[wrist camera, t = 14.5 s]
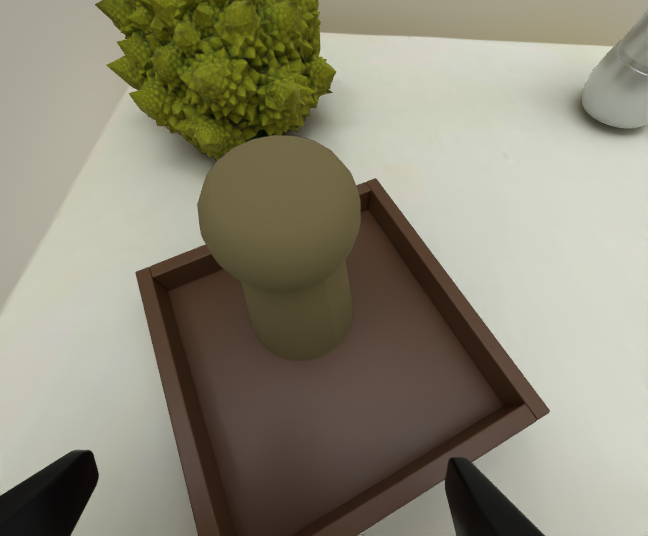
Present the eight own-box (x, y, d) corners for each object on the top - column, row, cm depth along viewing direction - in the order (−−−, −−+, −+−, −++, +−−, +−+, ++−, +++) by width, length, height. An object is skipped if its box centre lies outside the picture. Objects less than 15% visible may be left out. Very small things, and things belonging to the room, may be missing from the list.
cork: (237, 285, 19) (146, 138, 10) (327, 250, 20) (327, 86, 11) (271, 379, 17) (192, 310, 7) (371, 334, 18) (424, 219, 8)
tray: (237, 590, 14) (218, 624, 11) (156, 290, 20) (134, 271, 18) (520, 414, 17) (551, 411, 14) (371, 202, 23) (376, 177, 21)
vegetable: (125, 19, 27) (123, -252, 15) (288, 103, 35) (377, -32, 22) (73, 167, 23) (9, -39, 11) (270, 226, 31) (369, 145, 18)
